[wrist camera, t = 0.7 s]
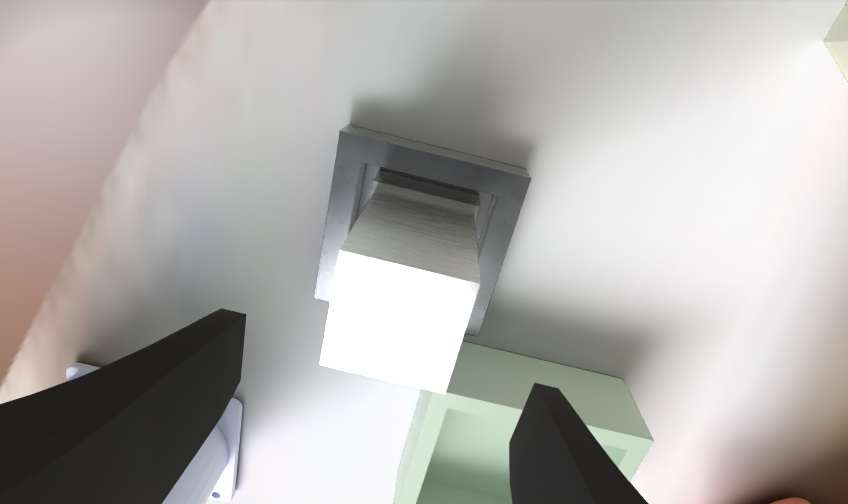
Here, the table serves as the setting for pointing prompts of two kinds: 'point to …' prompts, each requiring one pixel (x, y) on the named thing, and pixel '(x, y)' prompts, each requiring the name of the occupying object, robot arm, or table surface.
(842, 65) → the valve
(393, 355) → the strut
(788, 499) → the teapot
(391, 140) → the socket
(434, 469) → the bin
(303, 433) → the table surface
